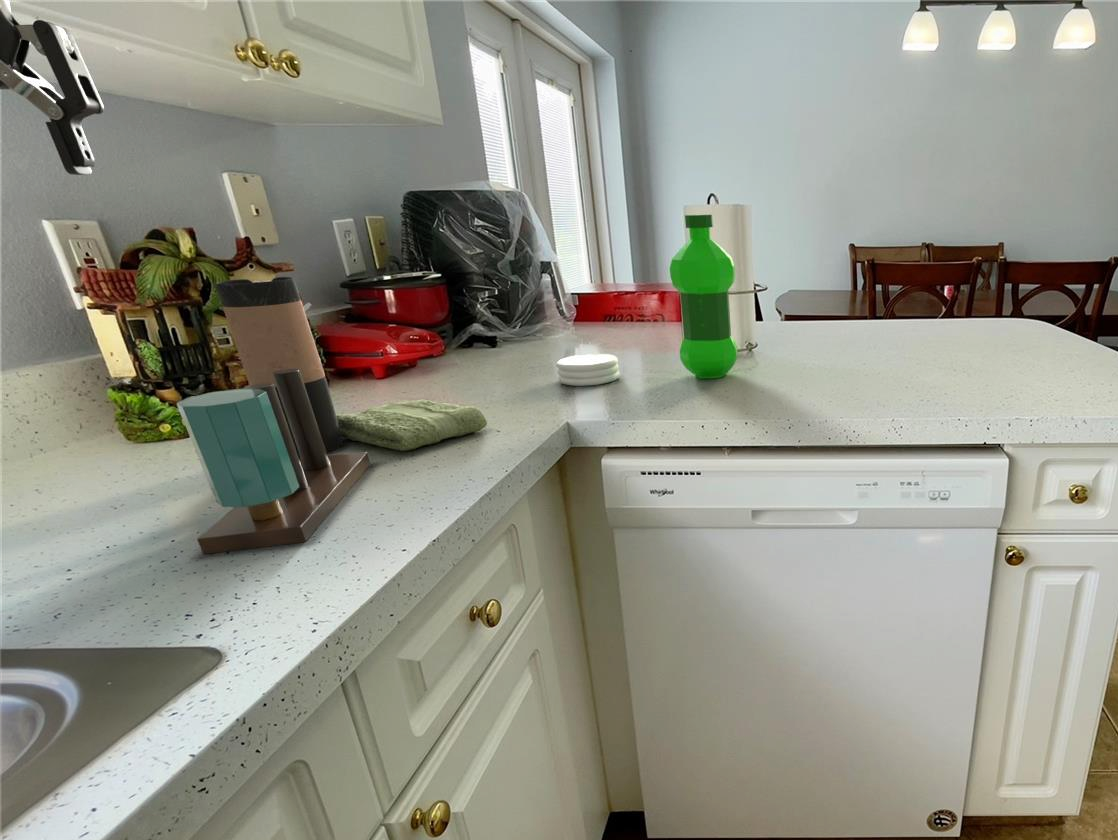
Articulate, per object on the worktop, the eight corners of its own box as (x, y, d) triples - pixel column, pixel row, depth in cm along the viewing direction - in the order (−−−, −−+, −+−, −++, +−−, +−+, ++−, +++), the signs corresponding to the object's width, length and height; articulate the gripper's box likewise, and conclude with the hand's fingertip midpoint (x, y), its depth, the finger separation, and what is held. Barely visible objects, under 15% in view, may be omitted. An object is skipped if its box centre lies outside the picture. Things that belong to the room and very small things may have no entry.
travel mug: (305, 461, 84) (245, 284, 76) (259, 456, 87) (196, 283, 78) (360, 442, 91) (310, 277, 82) (316, 437, 93) (263, 276, 85)
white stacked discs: (587, 371, 126) (584, 351, 125) (632, 375, 122) (629, 355, 121) (546, 383, 118) (542, 362, 117) (592, 389, 114) (589, 367, 113)
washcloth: (421, 412, 103) (415, 390, 102) (496, 430, 94) (490, 406, 93) (326, 436, 93) (319, 412, 92) (400, 458, 85) (393, 432, 83)
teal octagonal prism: (204, 511, 61) (162, 409, 57) (236, 486, 67) (199, 391, 63) (283, 502, 63) (247, 402, 59) (307, 479, 68) (276, 386, 64)
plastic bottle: (695, 367, 127) (682, 214, 116) (750, 370, 124) (742, 213, 113) (669, 380, 119) (652, 216, 108) (727, 383, 115) (716, 215, 105)
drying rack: (203, 554, 62) (145, 420, 57) (294, 471, 81) (257, 366, 76) (306, 542, 64) (259, 411, 59) (371, 463, 83) (340, 360, 78)
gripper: (-280, -105, 46) (-134, 175, 53) (-11, -90, 49) (94, 172, 56) (-172, -66, 53) (-54, 178, 59) (60, -55, 56) (145, 175, 63)
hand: (18, 175), depth 58 cm, fingers open, 8 cm apart
